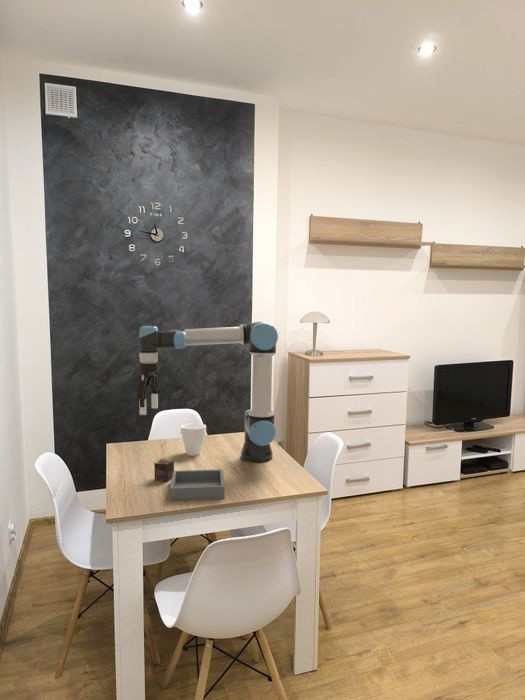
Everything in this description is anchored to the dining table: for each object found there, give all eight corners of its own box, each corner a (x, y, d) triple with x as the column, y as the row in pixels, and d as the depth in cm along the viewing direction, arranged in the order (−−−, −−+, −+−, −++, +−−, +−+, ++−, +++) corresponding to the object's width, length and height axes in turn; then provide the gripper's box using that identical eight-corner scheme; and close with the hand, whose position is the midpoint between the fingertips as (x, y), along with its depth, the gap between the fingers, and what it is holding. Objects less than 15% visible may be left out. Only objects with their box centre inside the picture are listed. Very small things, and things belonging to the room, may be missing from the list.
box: (174, 477, 206) (174, 460, 205) (167, 482, 200) (167, 464, 200) (161, 475, 208) (161, 458, 207) (154, 480, 202) (154, 462, 202)
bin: (222, 480, 203) (222, 469, 202) (224, 498, 183) (224, 486, 183) (173, 481, 201) (173, 470, 200) (169, 500, 181) (169, 488, 180)
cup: (211, 452, 242) (211, 425, 241) (195, 458, 232) (195, 430, 230) (192, 448, 248) (192, 422, 247) (175, 454, 238) (175, 426, 237)
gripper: (151, 359, 223) (151, 405, 225) (128, 365, 199) (128, 417, 200) (166, 359, 222) (167, 406, 224) (146, 365, 198) (146, 417, 199)
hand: (149, 411), depth 212 cm, fingers open, 13 cm apart
